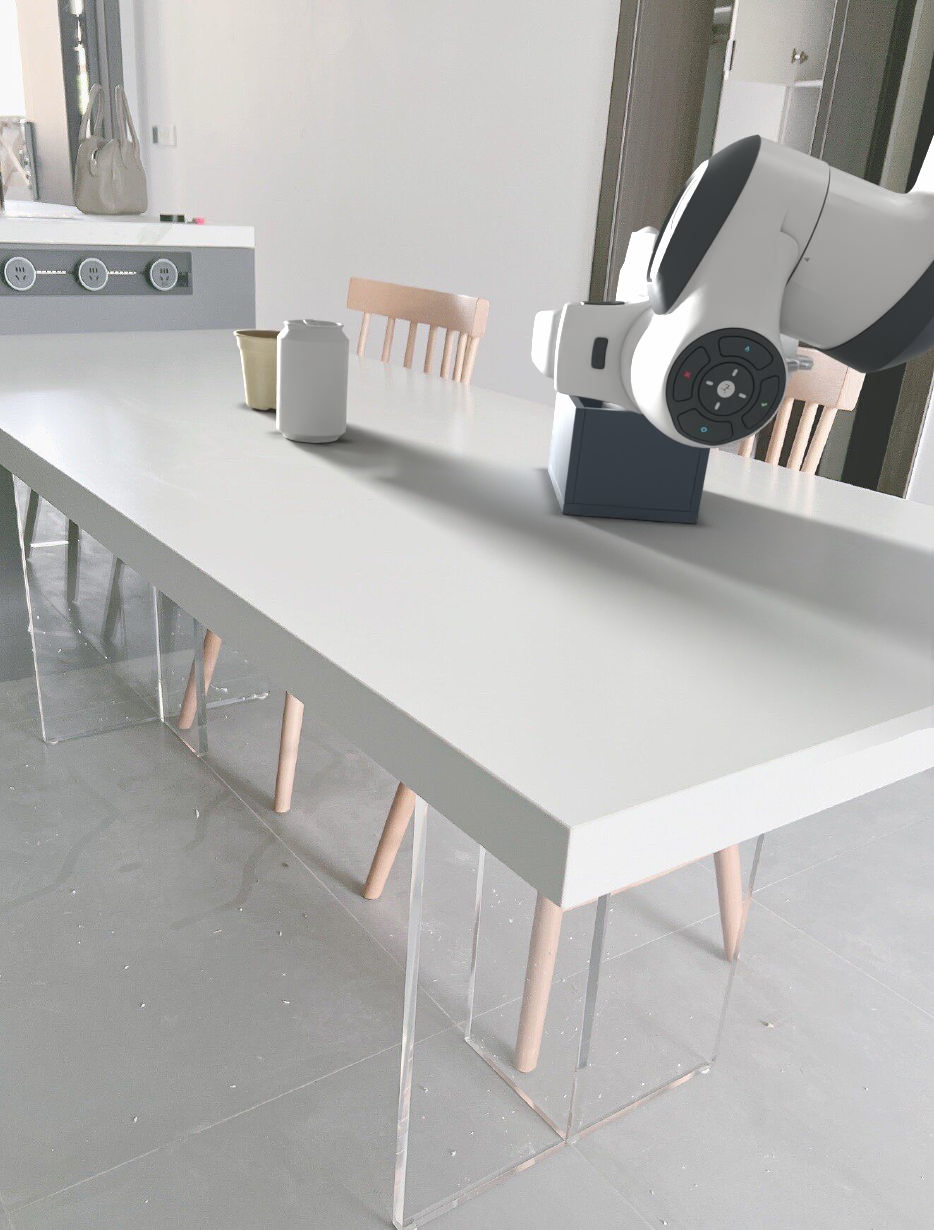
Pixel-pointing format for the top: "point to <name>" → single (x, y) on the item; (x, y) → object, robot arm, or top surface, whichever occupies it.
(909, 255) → the robot arm
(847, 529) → the top surface
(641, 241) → the tall pale column
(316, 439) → the can
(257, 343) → the flower pot
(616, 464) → the bin
